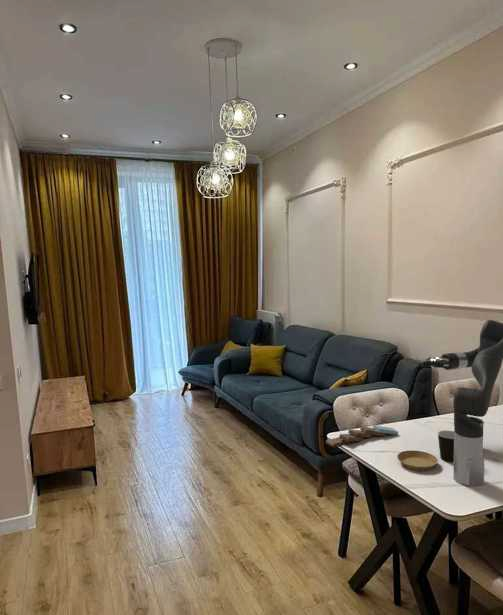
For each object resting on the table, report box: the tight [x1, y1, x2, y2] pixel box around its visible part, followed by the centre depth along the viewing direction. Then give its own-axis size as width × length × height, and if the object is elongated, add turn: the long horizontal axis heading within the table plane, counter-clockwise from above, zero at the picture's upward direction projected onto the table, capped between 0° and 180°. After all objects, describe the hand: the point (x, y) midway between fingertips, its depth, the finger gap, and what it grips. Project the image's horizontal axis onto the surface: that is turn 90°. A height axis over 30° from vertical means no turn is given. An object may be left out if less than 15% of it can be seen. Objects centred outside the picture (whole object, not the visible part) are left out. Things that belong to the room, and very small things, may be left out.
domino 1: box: [325, 436, 352, 448], centre depth 197 cm, size 2×5×10 cm
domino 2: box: [338, 433, 364, 442], centre depth 197 cm, size 2×5×10 cm
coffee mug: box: [437, 430, 454, 463], centre depth 178 cm, size 12×9×10 cm
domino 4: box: [359, 425, 386, 437], centre depth 203 cm, size 2×5×10 cm
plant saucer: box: [396, 449, 438, 471], centre depth 174 cm, size 15×15×3 cm
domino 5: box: [372, 424, 399, 436], centre depth 204 cm, size 2×5×10 cm
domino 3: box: [347, 429, 373, 439], centre depth 201 cm, size 2×5×10 cm
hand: (422, 364), depth 202 cm, fingers closed
